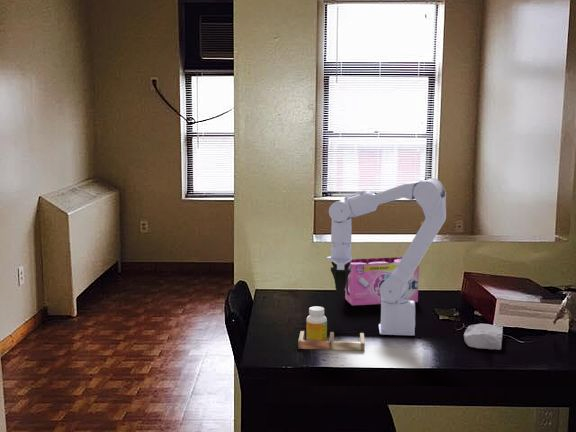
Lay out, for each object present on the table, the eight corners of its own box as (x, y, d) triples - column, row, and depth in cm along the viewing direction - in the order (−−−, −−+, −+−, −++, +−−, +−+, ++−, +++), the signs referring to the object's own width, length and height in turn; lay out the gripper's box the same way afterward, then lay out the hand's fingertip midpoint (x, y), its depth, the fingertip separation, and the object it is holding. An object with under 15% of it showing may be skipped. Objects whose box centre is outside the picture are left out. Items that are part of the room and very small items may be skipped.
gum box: (347, 306, 202) (348, 264, 200) (340, 299, 209) (341, 259, 207) (418, 302, 207) (419, 261, 205) (409, 295, 214) (410, 256, 212)
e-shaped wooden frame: (363, 340, 171) (363, 333, 170) (364, 350, 163) (364, 343, 163) (300, 338, 172) (300, 330, 172) (298, 348, 164) (298, 341, 164)
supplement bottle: (325, 348, 165) (325, 312, 163) (304, 346, 166) (304, 310, 164) (328, 341, 170) (328, 306, 169) (308, 339, 171) (308, 304, 170)
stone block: (464, 353, 166) (504, 351, 163) (461, 336, 166) (501, 332, 163) (467, 340, 178) (505, 337, 174) (464, 323, 177) (502, 320, 174)
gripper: (327, 237, 189) (327, 281, 191) (326, 247, 174) (325, 295, 176) (351, 237, 188) (351, 282, 190) (352, 247, 174) (351, 295, 176)
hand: (340, 288), depth 183 cm, fingers open, 7 cm apart
